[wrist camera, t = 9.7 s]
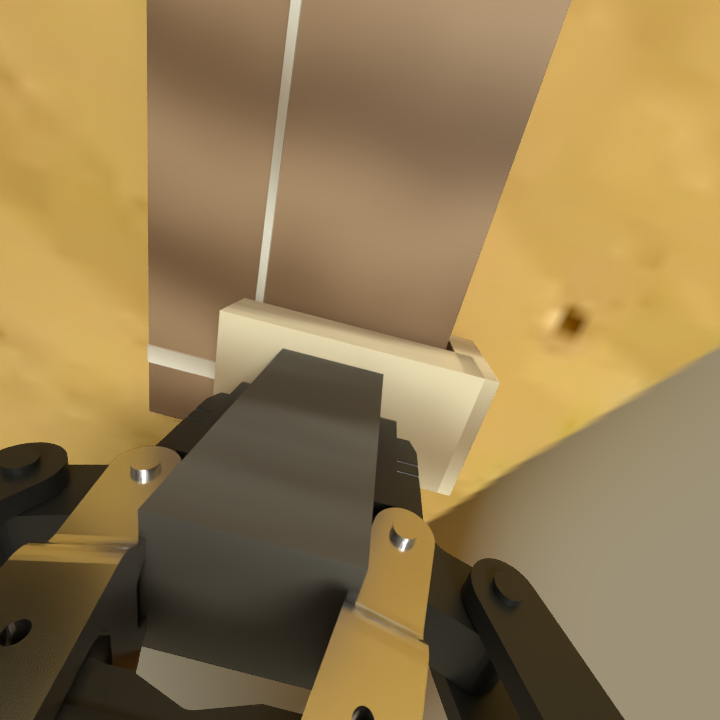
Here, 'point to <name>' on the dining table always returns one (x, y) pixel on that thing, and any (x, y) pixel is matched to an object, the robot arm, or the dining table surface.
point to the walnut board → (326, 162)
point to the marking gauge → (294, 484)
